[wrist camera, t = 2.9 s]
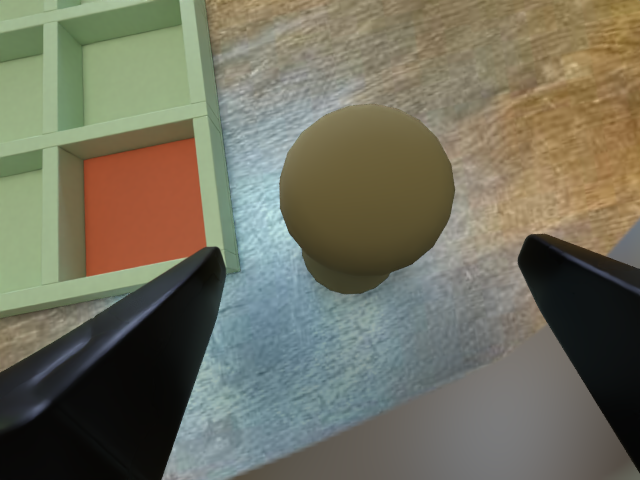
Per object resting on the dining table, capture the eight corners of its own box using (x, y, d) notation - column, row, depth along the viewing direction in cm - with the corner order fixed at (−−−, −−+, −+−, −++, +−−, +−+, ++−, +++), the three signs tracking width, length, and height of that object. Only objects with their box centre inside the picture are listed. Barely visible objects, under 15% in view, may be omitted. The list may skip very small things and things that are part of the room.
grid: (240, 271, 18) (226, 267, 16) (-66, 331, 18) (-125, 336, 16) (184, -157, 26) (169, -202, 24) (-31, -110, 26) (-67, -149, 24)
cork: (295, 289, 18) (233, 276, 7) (307, 195, 19) (268, 59, 8) (395, 299, 17) (494, 303, 7) (401, 203, 18) (493, 71, 8)
